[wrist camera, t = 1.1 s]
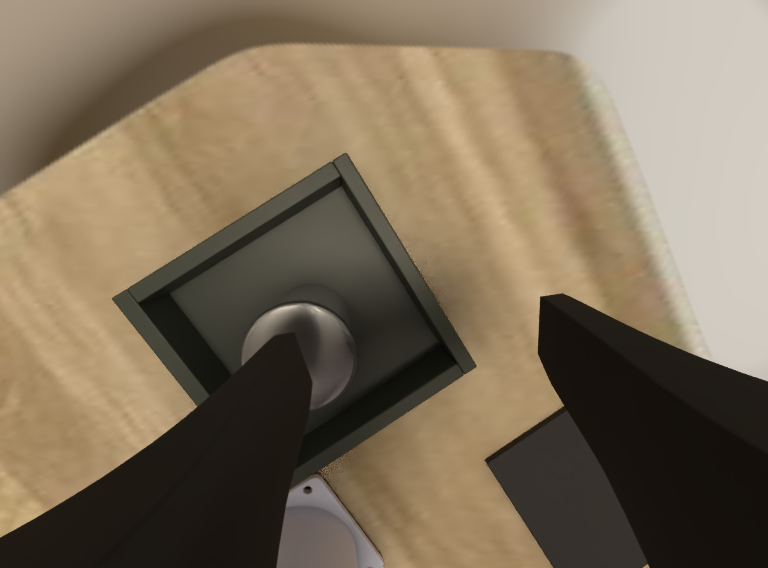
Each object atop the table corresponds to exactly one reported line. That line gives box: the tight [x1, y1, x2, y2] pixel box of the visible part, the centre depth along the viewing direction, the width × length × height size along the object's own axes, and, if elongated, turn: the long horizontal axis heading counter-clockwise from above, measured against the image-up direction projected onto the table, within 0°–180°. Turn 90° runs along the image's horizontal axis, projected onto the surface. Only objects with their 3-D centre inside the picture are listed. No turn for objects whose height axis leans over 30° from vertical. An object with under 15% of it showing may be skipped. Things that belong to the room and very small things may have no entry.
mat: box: [485, 407, 648, 568], centre depth 24 cm, size 14×14×1 cm
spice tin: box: [239, 283, 357, 412], centre depth 17 cm, size 4×4×6 cm
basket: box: [112, 153, 476, 489], centre depth 19 cm, size 13×13×4 cm
